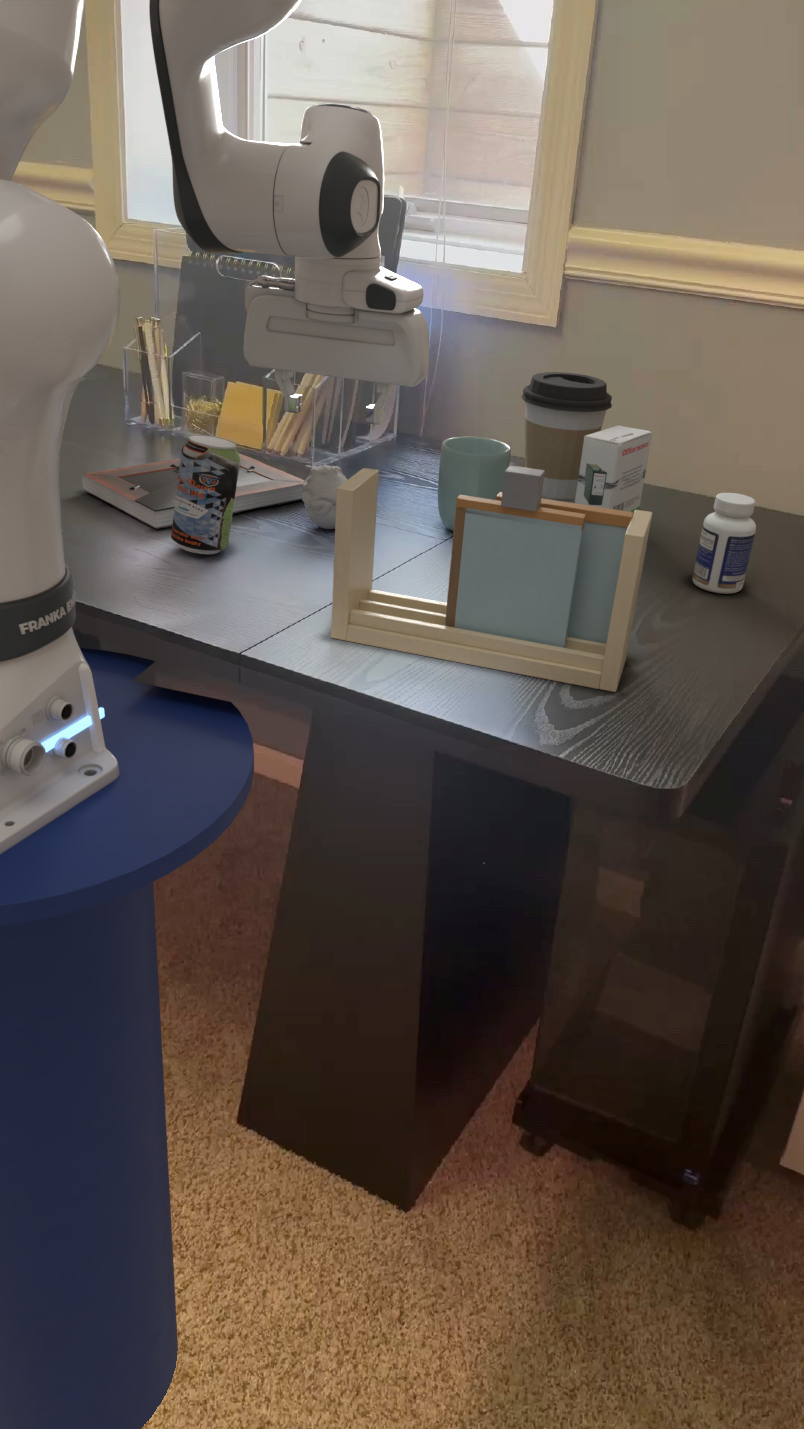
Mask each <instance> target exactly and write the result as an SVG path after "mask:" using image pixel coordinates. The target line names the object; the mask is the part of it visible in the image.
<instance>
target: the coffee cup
mask: <svg viewBox="0 0 804 1429" xmlns="http://www.w3.org/2000/svg"><path fill="white" fill-rule="evenodd" d="M607 385H608V383H606V382H605V380H603V379H600V378H598V377H595V376H592V375H591V376H590V375H586V374H582V373H581V374H580V373H575V372H574V373H573V372H563V371H562V372H561V371H545V372H537V373H535V374H533V375H532V376H531V380H530V383H529V384H528V385H526V386H524V387H523V389H522V395H521V396H520V397H521V399H522V400H523V401H524V467H525V468H532V469H539V470H544V471H545V475H544V482H543V490H542V498H543V499H550V500H556V501H563V502H569V503H575V498H576V491H577V484H578V477H579V471H580V464H581V457H582V450H583V443H584V436H586V435H589V434H592V433H595V432H599V431H602V428H603V424H604V421H605V417H606V414H607V413H606V412H607V411H608V410H610V409H611V408H612V406H613V404H612V400H613V396H612V395H611V394H610V393H609V392H607V388H608V386H607Z"/></svg>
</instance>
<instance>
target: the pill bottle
mask: <svg viewBox="0 0 804 1429" xmlns="http://www.w3.org/2000/svg"><path fill="white" fill-rule="evenodd" d="M755 506H756V500H755V499H754V498H753V497H751V496H749V495H746V494H742V493H736V492H720V493H718V494H716V496H715V499H714V504H713V510H714V512H711V513H709V514H707V516H706V517H705V518H704V520H703V523H702V529H701V533H700V539H699V543H698V547H697V553H696V558H695V562H694V567H693V573H692V577H691V578H692V583H693V584H694V586H696V588H697V587H698V588H699V589H701V590H703V591H706V592H710V593H715V594H722V595H731V594H736V593H738V592H740V591H741V590H742V589H743V587H744V584H745V579H746V576H747V571H748V566H749V562H750V557H751V553H752V548H753V544H754V540H755V535H756V532H757V524H756V521H754V519H752V518H751V516H752V515H753V514H754V511H755Z"/></svg>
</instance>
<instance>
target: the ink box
mask: <svg viewBox="0 0 804 1429" xmlns="http://www.w3.org/2000/svg"><path fill="white" fill-rule="evenodd" d="M652 438H653V432H652V431H650V430H646V429H641V428H634V427H630V426H629V427H628V426H624V425H619V424H617V425H614V426H611V427H608V428H605V429H601V431H599V432H595V433H592V434H589V435H586V436H584V443H583V450H582V457H581V464H580V471H579V477H578V484H577V491H576V498H575V503H576V504H582V505H589V506H595V507H602V508H608V509H615V510H621V511H628V512H633V514H634V511H635V510H640V507H641V501H642V497H643V490H644V484H645V478H646V472H647V467H648V460H649V454H650V449H651V444H652Z"/></svg>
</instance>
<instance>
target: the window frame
mask: <svg viewBox="0 0 804 1429" xmlns="http://www.w3.org/2000/svg"><path fill="white" fill-rule="evenodd" d="M379 472H380V471H379V470H378V469H373V468H367V467H363V468H360V470H359V471H357V472H356V473H355V474H353V475H352V476H350V477H349V478H348V479H347V481H346V482H344V483H343V484H342V485H340V486H339V487H338V488H337V497H336V523H335V529H334V548H333V549H334V551H333V552H334V553H333V554H334V556H333V575H332V576H333V578H332V602H331V607H332V608H331V630H330V638H331V639H336V640H341V641H346V642H350V643H356V644H361V645H366V646H372V647H377V648H382V649H387V650H392V651H397V652H398V651H399V652H403V653H409V654H412V655H419V656H423V657H429V658H434V659H439V660H445V661H448V662H449V661H450V662H455V663H460V664H465V665H470V666H471V665H472V666H476V667H480V668H487V669H491V670H496V671H497V670H498V671H500V672H501V671H502V672H508V673H512V674H518V675H523V676H528V677H533V678H539V679H544V680H550V681H554V682H559V683H565V684H569V685H575V686H580V687H585V688H591V689H594V690H595V689H596V690H602V691H606V692H612V693H617V690H618V687H619V684H620V682H621V677H622V674H623V670H624V667H625V664H626V662H627V655H628V649H629V644H630V639H631V633H632V627H633V621H634V617H635V612H636V606H637V601H638V594H639V590H640V585H641V579H642V572H643V567H644V562H645V557H646V551H647V545H648V540H649V535H650V529H651V523H652V520H653V519H652V518H653V512H652V511H649V510H642V509H641V510H640V509H639V510H635V511H634V514H633V512H628V511H621V510H615V509H608V508H602V507H595V506H589V505H582V504H576V503H569V502H563V501H556V500H550V499H543V498H541V505H540V506H539V507H543V508H550V509H556V510H563V511H569V512H575V513H582V514H586V517H585V524H584V530H583V537H582V543H581V550H580V556H579V563H578V569H577V576H576V583H575V589H574V596H573V602H572V609H571V615H570V622H569V629H568V635H567V642H566V648H562V647H557V646H551V645H546V644H540V643H535V642H530V641H524V640H519V639H513V638H508V637H502V636H497V635H492V634H486V633H481V632H475V631H470V630H465V629H459V628H454V627H448V626H445V618H446V607H447V602H444V601H439V600H433V599H428V598H424V597H423V598H421V597H416V596H410V595H405V594H400V593H394V592H388V591H384V590H379V589H373V578H374V562H375V561H374V559H375V543H376V526H377V524H376V523H377V511H378V510H377V507H378V492H379V491H378V490H379V475H380V474H379ZM496 500H498V501H501V500H502V492H499V494H498V495H497V496H496Z"/></svg>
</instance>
